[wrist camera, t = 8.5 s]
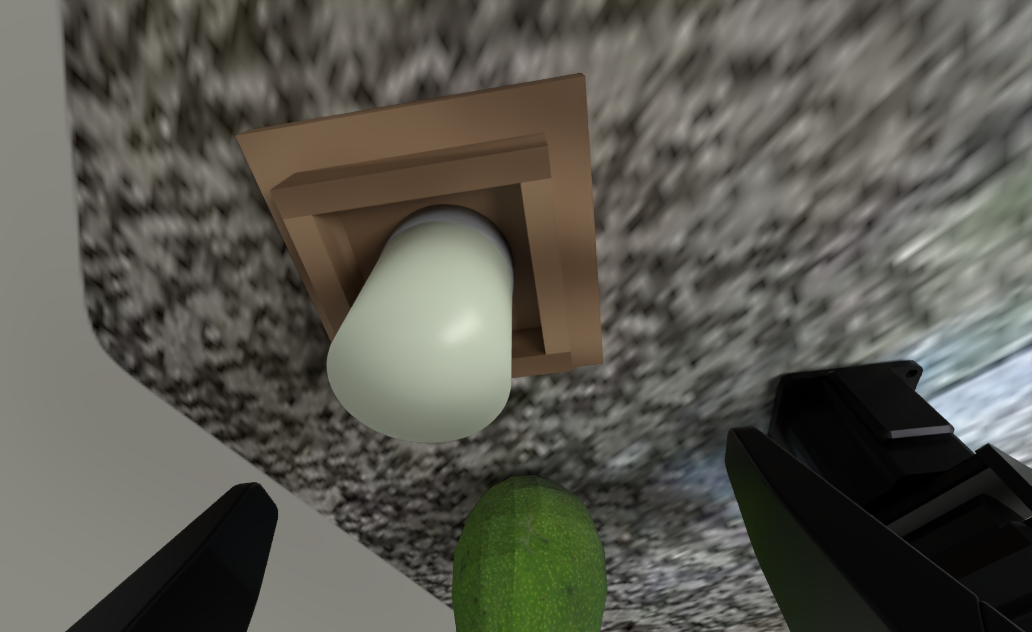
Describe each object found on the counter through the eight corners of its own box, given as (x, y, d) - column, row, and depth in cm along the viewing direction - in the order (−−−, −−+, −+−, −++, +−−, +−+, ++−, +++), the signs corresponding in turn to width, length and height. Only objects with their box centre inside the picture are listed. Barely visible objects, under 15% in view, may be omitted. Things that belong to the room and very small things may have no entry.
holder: (599, 350, 22) (610, 393, 20) (360, 379, 23) (341, 423, 20) (581, 73, 16) (594, 83, 13) (249, 129, 17) (201, 149, 14)
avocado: (472, 435, 25) (444, 711, 15) (608, 455, 26) (666, 728, 16) (453, 520, 30) (421, 779, 19) (570, 534, 30) (598, 788, 20)
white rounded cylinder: (522, 310, 20) (525, 434, 14) (406, 324, 20) (361, 452, 14) (502, 194, 17) (495, 288, 11) (368, 214, 17) (293, 315, 11)
